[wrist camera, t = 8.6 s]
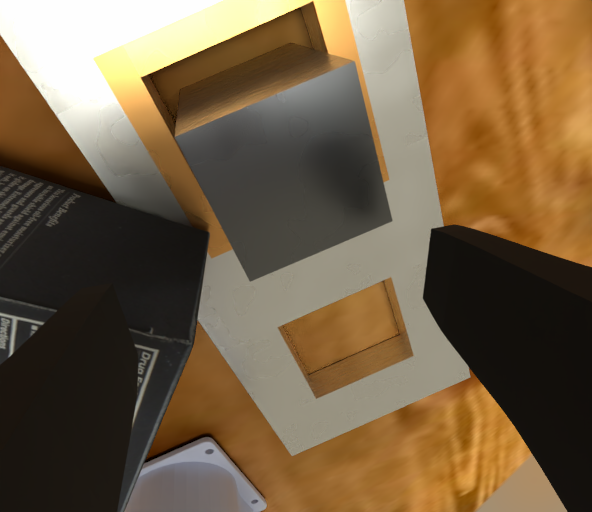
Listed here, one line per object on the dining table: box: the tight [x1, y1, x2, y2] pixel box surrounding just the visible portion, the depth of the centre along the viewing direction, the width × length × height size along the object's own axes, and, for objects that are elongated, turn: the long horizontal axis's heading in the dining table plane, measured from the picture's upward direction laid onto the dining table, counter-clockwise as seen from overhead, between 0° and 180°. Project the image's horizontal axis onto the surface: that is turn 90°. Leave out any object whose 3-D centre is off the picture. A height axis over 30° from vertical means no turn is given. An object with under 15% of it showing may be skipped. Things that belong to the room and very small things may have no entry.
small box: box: [0, 166, 210, 512], centre depth 15 cm, size 11×6×10 cm
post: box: [175, 43, 393, 282], centre depth 14 cm, size 4×4×7 cm
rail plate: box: [0, 0, 470, 456], centre depth 19 cm, size 26×12×2 cm, turn 21°
